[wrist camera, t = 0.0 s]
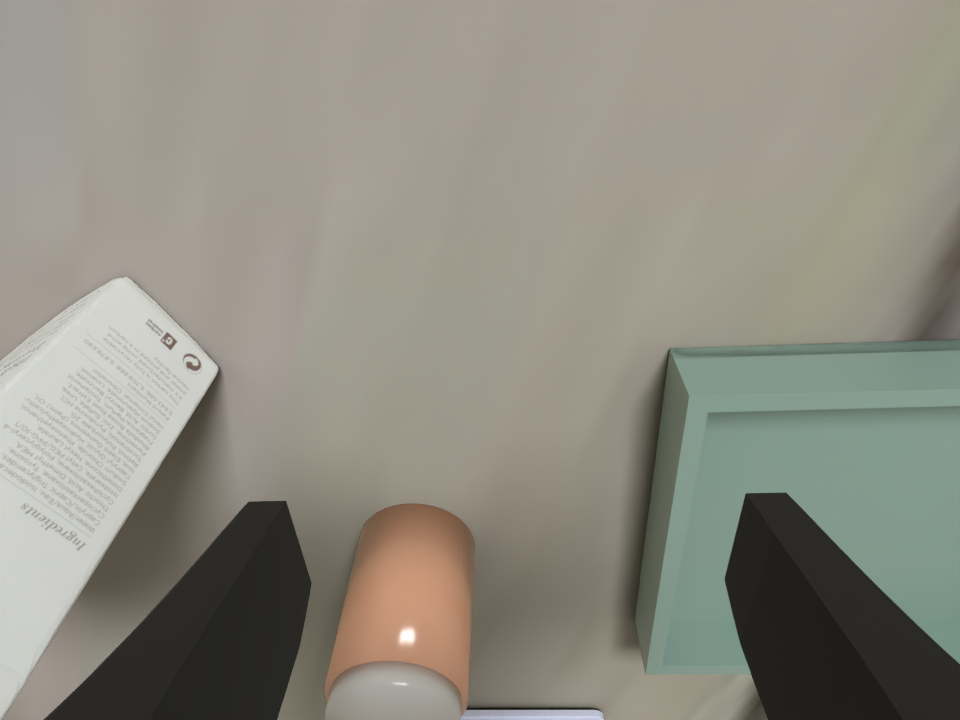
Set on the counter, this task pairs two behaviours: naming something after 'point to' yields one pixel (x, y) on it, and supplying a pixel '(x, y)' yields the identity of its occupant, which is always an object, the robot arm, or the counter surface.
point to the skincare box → (81, 452)
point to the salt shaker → (405, 620)
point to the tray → (802, 482)
